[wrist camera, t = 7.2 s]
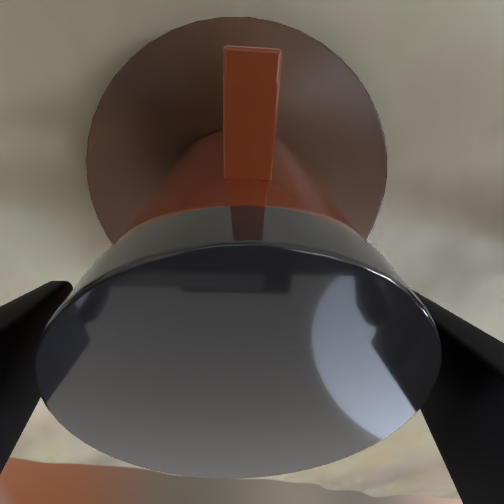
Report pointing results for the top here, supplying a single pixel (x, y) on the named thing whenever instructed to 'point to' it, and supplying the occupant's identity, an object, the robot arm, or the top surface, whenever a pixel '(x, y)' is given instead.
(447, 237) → the top surface
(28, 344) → the robot arm
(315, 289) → the orange mug
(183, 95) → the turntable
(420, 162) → the top surface
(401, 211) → the top surface
